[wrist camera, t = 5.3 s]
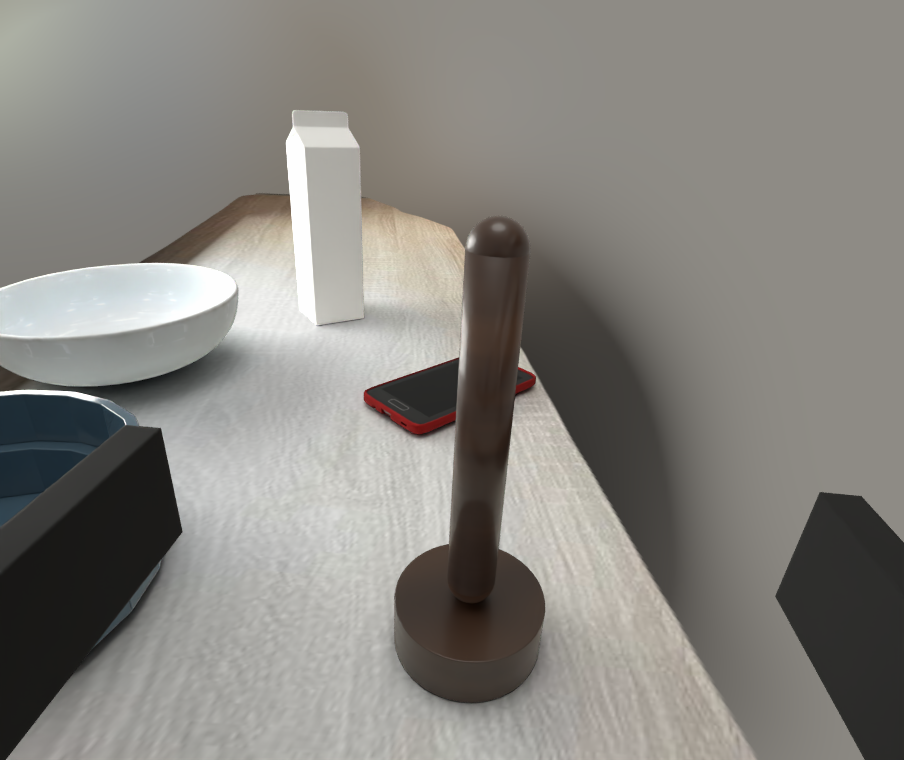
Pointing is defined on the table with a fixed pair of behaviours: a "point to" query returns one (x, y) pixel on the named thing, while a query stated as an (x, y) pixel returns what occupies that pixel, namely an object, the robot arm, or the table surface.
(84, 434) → the mixing bowl
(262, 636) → the table surface
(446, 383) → the cell phone
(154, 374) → the serving bowl
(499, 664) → the paper towel holder
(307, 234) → the milk
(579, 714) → the table surface
